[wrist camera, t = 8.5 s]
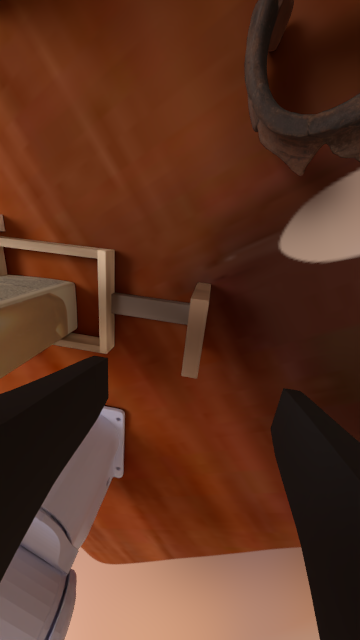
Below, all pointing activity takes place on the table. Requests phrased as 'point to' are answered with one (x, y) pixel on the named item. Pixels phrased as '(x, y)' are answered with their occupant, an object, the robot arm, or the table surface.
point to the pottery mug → (279, 124)
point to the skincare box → (33, 317)
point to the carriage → (125, 303)
